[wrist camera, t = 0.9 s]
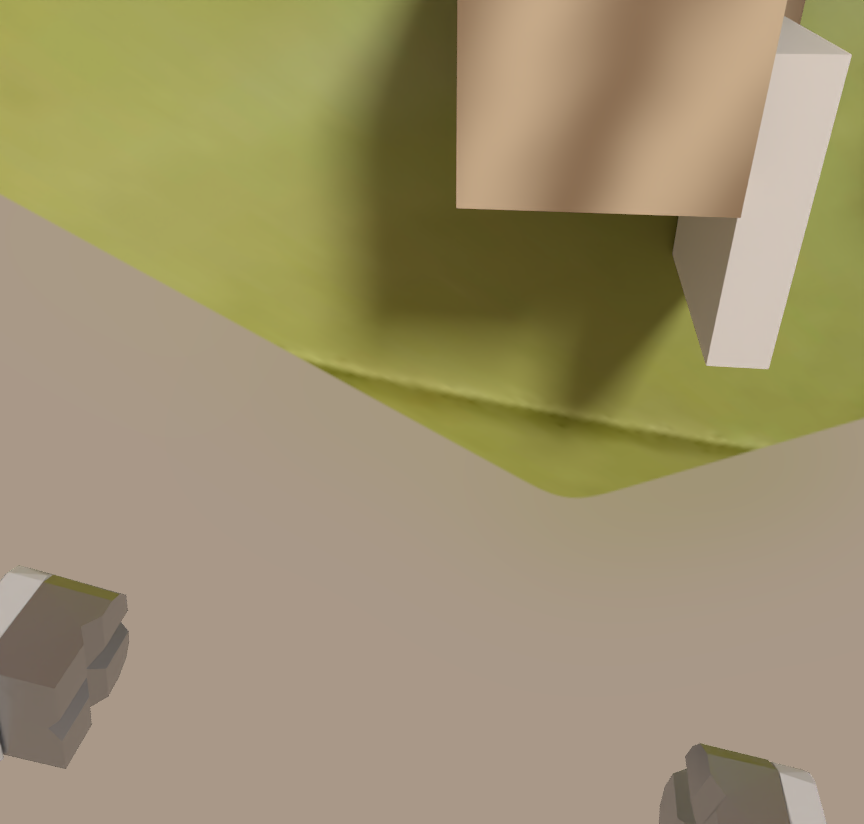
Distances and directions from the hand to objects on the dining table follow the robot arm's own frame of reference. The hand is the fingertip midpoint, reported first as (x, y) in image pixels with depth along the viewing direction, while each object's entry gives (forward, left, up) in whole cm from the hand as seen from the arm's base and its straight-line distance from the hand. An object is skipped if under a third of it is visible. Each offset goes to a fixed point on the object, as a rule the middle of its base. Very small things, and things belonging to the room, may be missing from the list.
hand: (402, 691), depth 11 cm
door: (+10, -1, -35) cm, 36 cm away
